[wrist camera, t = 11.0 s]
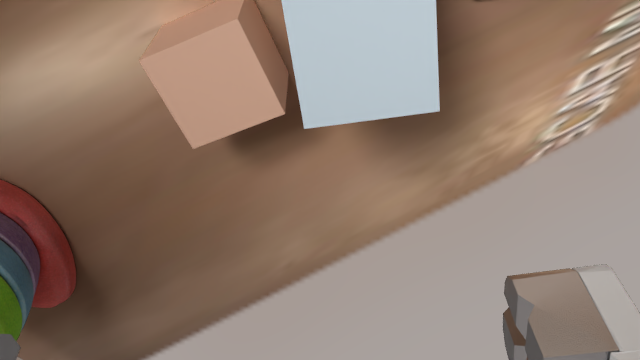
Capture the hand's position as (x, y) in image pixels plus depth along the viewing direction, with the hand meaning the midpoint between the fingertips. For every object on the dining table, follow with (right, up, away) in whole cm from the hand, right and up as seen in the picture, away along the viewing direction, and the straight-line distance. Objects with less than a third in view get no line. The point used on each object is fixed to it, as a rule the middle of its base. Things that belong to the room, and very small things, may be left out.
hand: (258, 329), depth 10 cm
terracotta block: (-4, +9, +22) cm, 24 cm away
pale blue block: (+3, +9, +15) cm, 18 cm away
